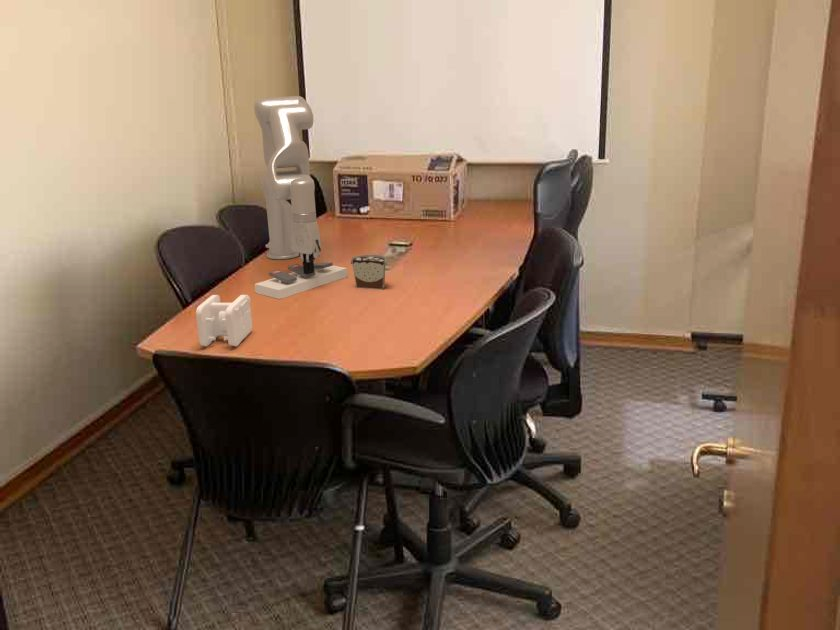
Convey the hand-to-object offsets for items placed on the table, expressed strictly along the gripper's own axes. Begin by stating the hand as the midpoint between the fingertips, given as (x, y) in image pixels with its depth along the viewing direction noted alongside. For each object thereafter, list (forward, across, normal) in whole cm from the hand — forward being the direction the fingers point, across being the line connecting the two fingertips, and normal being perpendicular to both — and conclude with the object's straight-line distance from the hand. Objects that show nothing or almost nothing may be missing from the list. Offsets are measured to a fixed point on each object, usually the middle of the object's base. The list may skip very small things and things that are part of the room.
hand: (309, 272), depth 286 cm
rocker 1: (0, -4, -8) cm, 9 cm away
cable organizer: (+6, +19, -48) cm, 52 cm away
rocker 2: (0, -4, 0) cm, 4 cm away
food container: (+5, +17, +12) cm, 21 cm away
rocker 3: (0, -4, +8) cm, 9 cm away
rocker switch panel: (+5, -4, 0) cm, 6 cm away
